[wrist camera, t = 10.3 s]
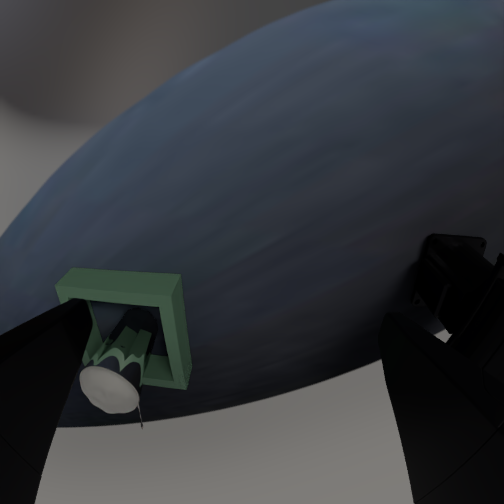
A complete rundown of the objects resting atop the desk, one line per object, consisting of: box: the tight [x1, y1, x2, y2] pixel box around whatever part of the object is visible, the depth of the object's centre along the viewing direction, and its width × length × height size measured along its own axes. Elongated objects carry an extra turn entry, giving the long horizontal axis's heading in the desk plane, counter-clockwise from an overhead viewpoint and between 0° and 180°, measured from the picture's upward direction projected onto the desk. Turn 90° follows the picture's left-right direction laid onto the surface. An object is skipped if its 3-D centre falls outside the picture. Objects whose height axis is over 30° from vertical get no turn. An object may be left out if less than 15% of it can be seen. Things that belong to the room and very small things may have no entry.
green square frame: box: [55, 267, 192, 390], centre depth 24 cm, size 10×10×3 cm
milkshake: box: [80, 307, 158, 429], centre depth 21 cm, size 4×5×10 cm
